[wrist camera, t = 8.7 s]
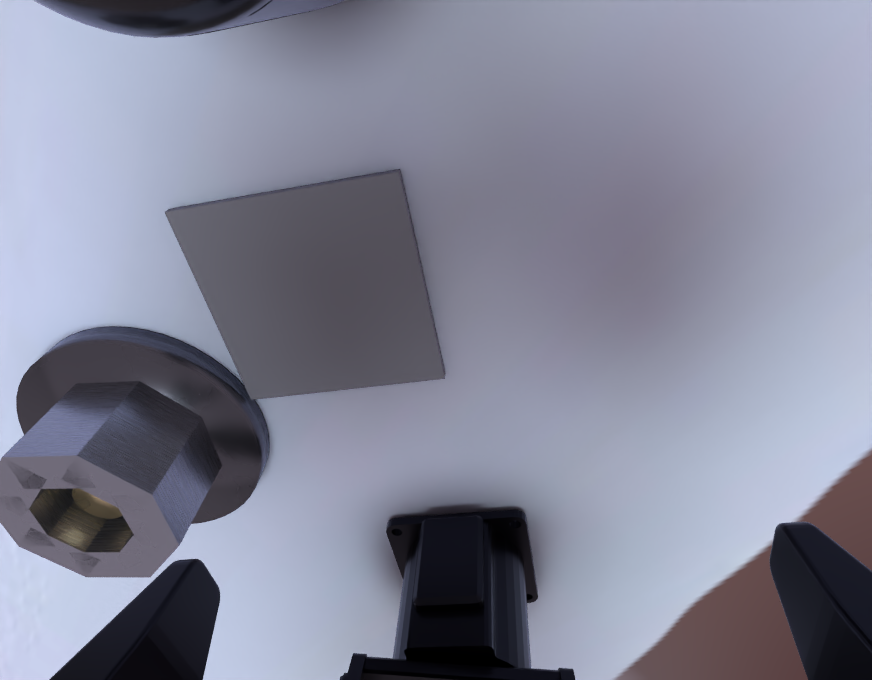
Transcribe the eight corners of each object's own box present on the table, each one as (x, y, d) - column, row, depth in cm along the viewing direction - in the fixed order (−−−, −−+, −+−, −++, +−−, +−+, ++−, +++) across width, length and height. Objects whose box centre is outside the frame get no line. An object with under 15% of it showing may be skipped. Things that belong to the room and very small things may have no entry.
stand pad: (445, 373, 22) (444, 378, 22) (253, 395, 23) (251, 399, 23) (399, 169, 18) (398, 171, 17) (169, 209, 19) (164, 212, 19)
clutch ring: (243, 440, 23) (201, 520, 20) (177, 517, 26) (131, 597, 22) (93, 353, 21) (18, 425, 18) (40, 446, 24) (-33, 523, 21)
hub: (299, 495, 26) (270, 576, 23) (109, 510, 28) (54, 588, 24) (215, 311, 21) (161, 378, 17) (-13, 342, 23) (-105, 410, 19)
